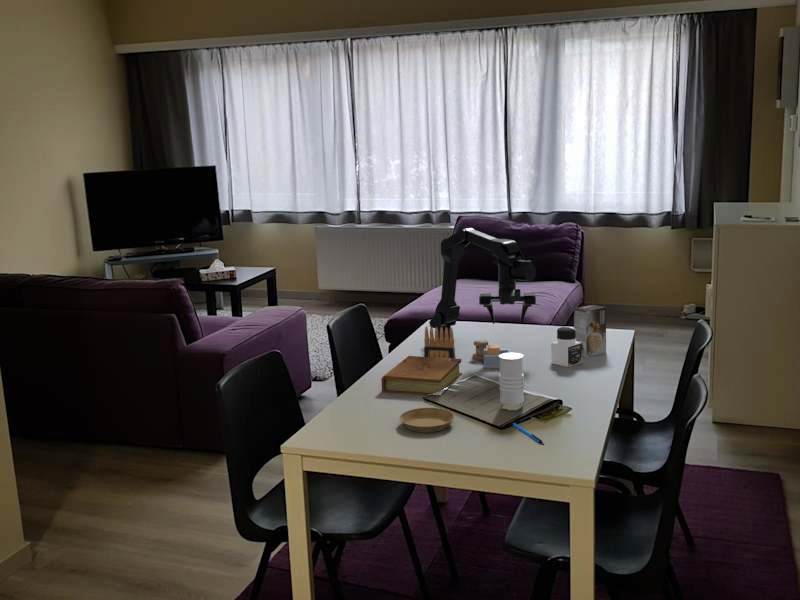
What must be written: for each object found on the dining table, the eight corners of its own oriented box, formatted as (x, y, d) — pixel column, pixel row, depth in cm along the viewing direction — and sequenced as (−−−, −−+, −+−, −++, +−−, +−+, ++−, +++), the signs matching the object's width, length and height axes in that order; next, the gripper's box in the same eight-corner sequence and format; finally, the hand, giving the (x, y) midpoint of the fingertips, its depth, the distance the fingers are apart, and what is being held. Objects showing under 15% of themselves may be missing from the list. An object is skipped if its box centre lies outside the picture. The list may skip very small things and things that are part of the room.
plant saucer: (466, 424, 229) (465, 415, 228) (428, 440, 219) (427, 430, 218) (426, 412, 239) (426, 404, 239) (388, 427, 229) (388, 417, 229)
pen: (541, 446, 211) (541, 442, 211) (506, 422, 229) (506, 418, 229) (545, 445, 212) (545, 441, 212) (509, 422, 229) (509, 418, 229)
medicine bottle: (568, 367, 276) (568, 331, 274) (551, 363, 281) (550, 328, 279) (581, 362, 281) (582, 327, 278) (564, 359, 286) (564, 324, 283)
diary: (406, 372, 280) (406, 355, 279) (461, 376, 274) (461, 358, 273) (382, 393, 259) (381, 375, 258) (440, 397, 253) (440, 378, 252)
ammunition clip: (455, 361, 289) (454, 326, 286) (454, 362, 287) (453, 328, 285) (425, 359, 292) (424, 325, 290) (424, 361, 291) (422, 326, 288)
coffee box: (593, 349, 297) (593, 304, 293) (606, 352, 291) (607, 307, 288) (573, 353, 292) (573, 307, 289) (586, 357, 287) (586, 310, 283)
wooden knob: (472, 355, 295) (472, 340, 294) (490, 355, 294) (489, 339, 293) (472, 360, 289) (471, 344, 288) (490, 359, 288) (489, 344, 287)
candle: (521, 412, 236) (521, 359, 233) (497, 410, 238) (496, 358, 235) (526, 404, 242) (526, 353, 239) (502, 402, 244) (502, 352, 241)
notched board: (484, 360, 288) (483, 349, 287) (508, 360, 287) (507, 348, 287) (484, 367, 279) (483, 356, 279) (508, 367, 279) (508, 355, 278)
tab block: (487, 359, 285) (487, 345, 284) (499, 359, 285) (499, 344, 284) (487, 362, 282) (487, 348, 281) (499, 362, 281) (499, 348, 280)
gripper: (478, 283, 278) (479, 329, 282) (536, 282, 276) (536, 329, 279) (479, 277, 289) (480, 321, 292) (535, 276, 287) (535, 321, 290)
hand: (507, 323), depth 288 cm, fingers open, 9 cm apart
